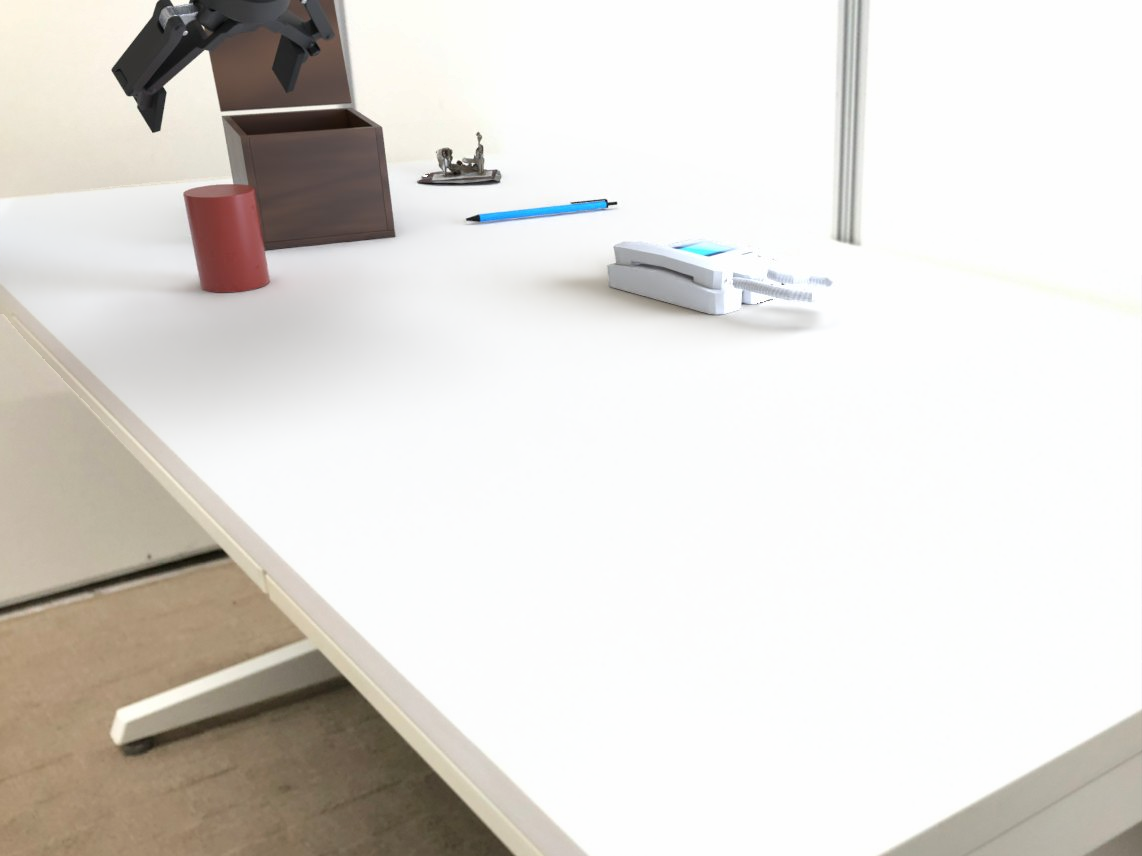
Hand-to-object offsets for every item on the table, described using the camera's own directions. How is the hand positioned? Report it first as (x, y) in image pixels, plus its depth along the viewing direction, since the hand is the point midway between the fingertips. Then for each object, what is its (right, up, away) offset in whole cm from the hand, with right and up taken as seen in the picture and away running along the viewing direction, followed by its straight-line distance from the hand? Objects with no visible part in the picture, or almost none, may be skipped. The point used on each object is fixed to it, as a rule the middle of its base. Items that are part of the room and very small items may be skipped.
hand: (217, 99), depth 123 cm
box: (+1, -6, +26) cm, 27 cm away
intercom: (+50, -19, 0) cm, 53 cm away
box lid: (-4, +17, +25) cm, 30 cm away
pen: (+26, -3, +32) cm, 41 cm away
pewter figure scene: (+12, +8, +53) cm, 55 cm away
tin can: (0, -16, +5) cm, 17 cm away
